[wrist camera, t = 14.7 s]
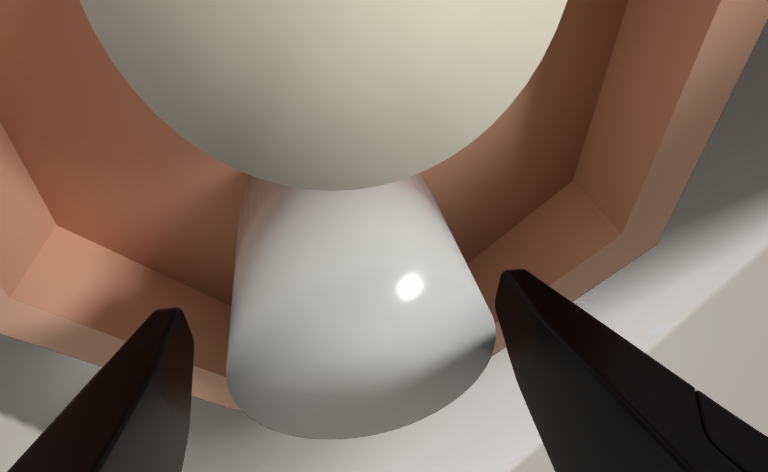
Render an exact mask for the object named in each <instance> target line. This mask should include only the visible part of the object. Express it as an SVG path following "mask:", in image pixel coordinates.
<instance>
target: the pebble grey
mask: <svg viewBox="0 0 768 472" xmlns="http://www.w3.org/2000/svg"><path fill="white" fill-rule="evenodd" d="M495 340H496V327H495V323H494V319H493V316H492V314H491V312H490V310H489V308H488V306H487V304H486V302H485V300H484V298H483V296H482V294H481V292H480V290H479V288H478V286H477V284H476V282H475V280H474V278H473V276H472V274H471V271H470V269H469V267H468V265H467V263H466V261H465V259H464V257H463V255H462V253H461V251H460V249H459V247H458V245H457V243H456V241H455V239H454V237H453V235H452V233H451V231H450V229H449V227H448V225H447V223H446V221H445V219H444V217H443V215H442V213H441V211H440V209H439V207H438V205H437V203H436V201H435V199H434V197H433V195H432V193H431V191H430V189H429V187H428V185H427V183H426V181H425V179H424V177H423V175H422V173H421V172H420V173H418V174H415V175H413V176H410V177H408V178H405V179H403V180H399V181H395V182H392V183H388V184H385V185H381V186H376V187H369V188H363V189H357V190H339V191H325V190H309V189H302V188H296V187H290V186H284V185H280V184H276V183H273V182H270V181H266V180H263V179H259V178H256V177H253V176H251V175H249V176H248V178H247V180H246V182H245V185H244V188H243V190H242V195H241V200H240V210H239V222H238V234H237V246H236V258H235V270H234V282H233V293H232V305H231V317H230V329H229V341H228V353H227V365H226V381H227V385H228V389H229V392H230V394H231V396H232V398H233V400H234V402H235V403H236V404H237V405H238V407H239V408H240V409H241V410H242V411H243V412H244V413H245V414H246V415H247V416H249V417H250V418H251V419H253V420H254V421H256V422H258V423H259V424H261V425H263V426H265V427H267V428H269V429H272V430H275V431H278V432H281V433H284V434H288V435H292V436H296V437H303V438H310V439H348V438H358V437H364V436H370V435H375V434H379V433H384V432H387V431H391V430H394V429H398V428H401V427H404V426H406V425H409V424H412V423H414V422H416V421H419V420H421V419H423V418H426V417H427V416H429V415H431V414H433V413H435V412H437V411H439V410H440V409H442V408H443V407H445V406H447V405H448V404H450V403H451V402H453V401H454V400H455V399H457V398H458V397H459V396H461V395H462V394H463V393H464V392H465V391H466V390H467V389H468V388H469V387H470V386H471V385H472V384H473V383H474V382H475V381H476V380H477V379H478V378H479V376H480V375H481V373H482V372H483V371H484V369H485V368H486V366H487V364H488V362H489V360H490V358H491V356H492V353H493V350H494V347H495Z"/></svg>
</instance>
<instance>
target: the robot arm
mask: <svg viewBox="0 0 768 472" xmlns="http://www.w3.org/2000/svg"><path fill="white" fill-rule="evenodd" d="M495 310H496V314H497V317H498V320H499V324H500V327H501V330H502V334H503V337H504V340H505V344H506V347H507V350H508V354H509V357H510V360H511V364H512V367H513V370H514V373H515V376H516V380H517V382H518V385H519V387H520V390H521V392H522V395H523V397H524V400H525V402H526V404H527V407H528V409H529V411H530V414H531V416H532V418H533V421H534V423H535V425H536V428H537V430H538V432H539V435H540V437H541V439H542V442H543V444H544V446H545V449H546V451H547V453H548V456H549V458H550V460H551V463H552V465H553V467H554V470H555V472H768V437H767V436H765V435H764V434H762V433H761V432H759V431H757V430H756V429H754V428H753V427H751V426H750V425H748V424H747V423H745V422H744V421H743V420H741V419H739V418H738V417H737V416H735V415H733V414H732V413H731V412H729V411H728V410H726V409H725V408H723V407H721V406H720V405H719V404H717V403H716V402H714V401H713V400H712V399H710V398H709V397H707V396H706V395H705V394H703V393H702V392H700V391H695V388H694V387H693V386H691V385H690V384H688V383H687V382H686V381H684V380H683V379H681V378H680V377H679V376H677V375H676V374H674V373H673V372H671V371H670V370H668V369H667V368H666V367H664V366H663V365H661V364H660V363H659V362H657V361H655V360H654V359H653V358H651V357H650V356H649V355H647V354H646V353H644V352H643V351H641V350H640V349H639V348H637V347H636V346H634V345H633V344H631V343H630V342H628V341H627V340H626V339H624V338H623V337H621V336H620V335H618V334H617V333H616V332H614V331H613V330H611V329H610V328H608V327H607V326H606V325H604V324H603V323H601V322H600V321H598V320H597V319H596V318H594V317H593V316H591V315H590V314H588V313H587V312H586V311H584V310H583V309H581V308H580V307H578V306H577V305H576V304H574V303H573V302H571V301H570V300H568V299H567V298H566V297H564V296H563V295H561V294H560V293H558V292H557V291H556V290H554V289H553V288H551V287H550V286H548V285H547V284H545V283H544V282H543V281H541V280H540V279H538V278H537V277H535V276H534V275H533V274H531V273H530V272H528V271H527V270H525V269H511V270H505V271H503V272H502V273H501V276H500V280H499V284H498V288H497V293H496V297H495ZM193 363H194V339H193V335H192V333H191V330H190V327H189V325H188V322H187V320H186V317H185V315H184V312H183V311H182V309H181V308H179V307H172V308H163V309H157V310H155V311H154V312H152V313H151V315H150V316H149V317H148V318H147V319H146V320H145V321H144V322H143V323H142V324H141V325H140V327H139V328H138V329H137V330H136V331H135V332H134V333H133V334H132V335H131V336H130V338H129V339H128V340H127V341H126V342H125V343H124V344H123V345H122V346H121V347H120V349H119V350H118V351H117V352H116V353H115V354H114V355H113V356H112V357H111V358H110V359H109V361H108V362H107V363H106V364H105V365H104V366H103V367H102V368H101V369H100V370H99V372H98V373H97V374H96V375H95V376H94V377H93V378H92V379H91V380H90V381H89V383H88V384H87V385H86V386H85V387H84V388H83V389H82V390H81V391H80V392H79V394H78V395H77V396H76V397H75V398H74V399H73V400H72V401H71V402H70V403H69V404H68V406H67V407H66V408H65V409H64V410H63V411H62V412H61V413H60V414H59V415H58V417H57V418H56V419H55V420H54V421H53V422H52V423H51V424H50V425H49V426H48V428H47V429H46V430H45V431H44V432H43V433H42V434H41V435H40V436H39V437H38V439H37V440H36V441H35V442H34V443H33V444H32V445H31V446H30V447H29V448H28V449H27V451H26V452H25V453H24V454H23V455H22V456H21V457H20V458H19V459H18V460H17V462H16V463H15V464H14V465H13V466H12V467H11V468H10V469H9V470H8V471H7V472H182V466H183V461H184V456H185V450H186V445H187V439H188V432H189V423H190V410H191V394H192V378H193Z"/></svg>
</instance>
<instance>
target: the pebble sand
mask: <svg viewBox="0 0 768 472" xmlns="http://www.w3.org/2000/svg"><path fill="white" fill-rule="evenodd" d="M80 3H81V5H82V7H83V9H84V11H85V14H86V16H87V18H88V20H89V22H90V25H91V27H92V29H93V30H94V32H95V34H96V36H97V37H98V39H99V41H100V42H101V44H102V46H103V47H104V49H105V51H106V52H107V54H108V56H109V57H110V59H111V61H112V62H113V64H114V65H115V66H116V68H117V69H118V70H119V72H120V73H121V74H122V76H123V77H124V78H125V80H126V81H127V82H128V84H129V85H130V86H131V88H132V89H133V90H134V91H135V92H136V94H137V95H138V96H139V97H140V98H141V99H142V100H143V101H144V102H145V103H146V104H147V105H148V106H149V107H150V109H151V110H152V111H153V112H154V113H155V114H156V115H157V116H158V117H159V118H161V119H162V120H163V121H164V122H165V123H166V124H167V125H169V126H170V127H171V128H172V129H173V130H174V131H175V132H177V133H178V134H179V135H180V136H181V137H183V138H184V139H186V140H187V141H189V142H190V143H191V144H193V145H194V146H196V147H197V148H199V149H200V150H201V151H203V152H204V153H206V154H208V155H210V156H211V157H213V158H215V159H217V160H219V161H220V162H222V163H224V164H226V165H228V166H230V167H232V168H234V169H236V170H239V171H241V172H244V173H246V174H249V175H251V176H253V177H256V178H259V179H263V180H266V181H270V182H273V183H276V184H280V185H284V186H290V187H296V188H302V189H309V190H325V191H339V190H357V189H363V188H369V187H376V186H381V185H385V184H388V183H392V182H395V181H399V180H403V179H405V178H408V177H410V176H413V175H415V174H418V173H420V172H423V171H425V170H428V169H429V168H431V167H433V166H435V165H437V164H439V163H441V162H443V161H444V160H446V159H448V158H450V157H451V156H453V155H454V154H456V153H457V152H459V151H460V150H461V149H463V148H464V147H466V146H467V145H469V144H470V143H471V142H472V141H474V140H475V139H476V138H477V137H478V136H480V135H481V134H482V133H483V132H484V131H485V130H487V129H488V128H489V127H490V126H491V125H492V124H493V123H494V122H495V121H496V120H497V119H498V118H499V117H500V116H501V115H502V114H503V113H504V111H505V110H506V109H507V108H508V107H509V106H510V105H511V103H512V102H513V101H514V100H515V98H516V97H517V96H518V94H519V93H520V92H521V91H522V89H523V88H524V87H525V85H526V84H527V82H528V81H529V79H530V78H531V76H532V74H533V73H534V71H535V70H536V68H537V67H538V65H539V63H540V62H541V60H542V58H543V56H544V54H545V52H546V50H547V48H548V46H549V44H550V42H551V40H552V38H553V36H554V34H555V32H556V30H557V27H558V24H559V22H560V19H561V16H562V14H563V11H564V8H565V6H566V3H567V0H80Z"/></svg>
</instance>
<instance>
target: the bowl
mask: <svg viewBox="0 0 768 472" xmlns="http://www.w3.org/2000/svg"><path fill="white" fill-rule="evenodd" d="M767 20H768V0H567V3H566V6H565V8H564V11H563V14H562V16H561V19H560V22H559V24H558V27H557V30H556V32H555V34H554V36H553V38H552V40H551V42H550V44H549V46H548V48H547V50H546V52H545V54H544V56H543V58H542V60H541V62H540V63H539V65H538V67H537V68H536V70H535V71H534V73H533V74H532V76H531V78H530V79H529V81H528V82H527V84H526V85H525V87H524V88H523V89H522V91H521V92H520V93H519V94H518V96H517V97H516V98H515V100H514V101H513V102H512V103H511V105H510V106H509V107H508V108H507V109H506V110H505V111H504V113H503V114H502V115H501V116H500V117H499V118H498V119H497V120H496V121H495V122H494V123H493V124H492V125H491V126H490V127H489V128H488V129H487V130H485V131H484V132H483V133H482V134H481V135H480V136H478V137H477V138H476V139H475V140H474V141H472V142H471V143H470V144H469V145H467V146H466V147H464V148H463V149H461V150H460V151H459V152H457V153H456V154H454V155H453V156H451V157H450V158H448V159H446V160H444V161H443V162H441V163H439V164H437V165H435V166H433V167H431V168H429V169H428V170H425V171H423V172H421V173H422V175H423V177H424V179H425V181H426V183H427V185H428V187H429V189H430V191H431V193H432V195H433V197H434V199H435V201H436V203H437V205H438V207H439V209H440V211H441V213H442V215H443V217H444V219H445V221H446V223H447V225H448V227H449V229H450V231H451V233H452V235H453V237H454V239H455V241H456V243H457V245H458V247H459V249H460V251H461V253H462V255H463V257H464V259H465V261H466V263H467V265H468V267H469V269H470V271H471V274H472V276H473V278H474V280H475V282H476V284H477V286H478V288H479V290H480V292H481V294H482V296H483V298H484V300H485V302H486V304H487V306H488V308H489V310H490V312H491V314H492V316H493V319H494V323H495V327H496V340H495V347H494V350H493V353H492V356H493V355H495V354H496V353H498V352H499V351H501V350H502V349H504V348H505V347H506V344H505V340H504V337H503V334H502V330H501V327H500V324H499V320H498V317H497V314H496V310H495V297H496V293H497V288H498V284H499V280H500V276H501V273H502V272H503V271H505V270H511V269H525V270H527V271H528V272H530V273H531V274H533V275H534V276H535V277H537V278H538V279H540V280H541V281H543V282H544V283H545V284H547V285H548V286H550V287H551V288H553V289H554V290H556V291H557V292H558V293H560V294H561V295H563V296H564V297H566V298H567V299H568V300H570V301H571V302H573V301H574V300H576V299H577V298H579V297H580V296H582V295H583V294H585V293H586V292H588V291H589V290H591V289H592V288H594V287H595V286H596V285H598V284H599V283H601V282H602V281H604V280H605V279H607V278H608V277H610V276H611V275H613V274H614V273H616V272H617V271H619V270H620V269H622V268H623V267H625V266H626V265H627V264H629V263H630V262H632V261H633V260H635V259H636V258H638V257H639V256H641V255H642V254H644V253H645V252H647V251H648V250H650V249H651V248H653V247H654V246H655V245H657V244H658V241H659V239H660V237H661V235H662V233H663V231H664V229H665V227H666V225H667V223H668V221H669V219H670V217H671V215H672V213H673V211H674V209H675V207H676V205H677V203H678V201H679V199H680V197H681V195H682V193H683V191H684V189H685V187H686V184H687V182H688V180H689V178H690V176H691V174H692V172H693V170H694V168H695V166H696V164H697V162H698V160H699V158H700V156H701V154H702V152H703V150H704V148H705V146H706V144H707V142H708V140H709V138H710V136H711V134H712V132H713V130H714V128H715V125H716V123H717V121H718V119H719V117H720V115H721V113H722V111H723V109H724V107H725V105H726V103H727V101H728V99H729V97H730V95H731V93H732V91H733V89H734V87H735V85H736V83H737V81H738V79H739V77H740V75H741V73H742V71H743V68H744V66H745V64H746V62H747V60H748V58H749V56H750V54H751V52H752V50H753V48H754V46H755V44H756V42H757V40H758V38H759V36H760V34H761V32H762V30H763V28H764V26H765V24H766V22H767ZM248 176H249V174H246V173H244V172H241V171H239V170H236V169H234V168H232V167H230V166H228V165H226V164H224V163H222V162H220V161H219V160H217V159H215V158H213V157H211V156H210V155H208V154H206V153H204V152H203V151H201V150H200V149H199V148H197V147H196V146H194V145H193V144H191V143H190V142H189V141H187V140H186V139H184V138H183V137H181V136H180V135H179V134H178V133H177V132H175V131H174V130H173V129H172V128H171V127H170V126H169V125H167V124H166V123H165V122H164V121H163V120H162V119H161V118H159V117H158V116H157V115H156V114H155V113H154V112H153V111H152V110H151V109H150V107H149V106H148V105H147V104H146V103H145V102H144V101H143V100H142V99H141V98H140V97H139V96H138V95H137V94H136V92H135V91H134V90H133V89H132V88H131V86H130V85H129V84H128V82H127V81H126V80H125V78H124V77H123V76H122V74H121V73H120V72H119V70H118V69H117V68H116V66H115V65H114V64H113V62H112V61H111V59H110V57H109V56H108V54H107V52H106V51H105V49H104V47H103V46H102V44H101V42H100V41H99V39H98V37H97V36H96V34H95V32H94V30H93V29H92V27H91V25H90V22H89V20H88V18H87V16H86V14H85V11H84V9H83V7H82V5H81V3H80V0H0V334H3V335H6V336H9V337H12V338H16V339H19V340H22V341H25V342H28V343H31V344H34V345H37V346H40V347H43V348H46V349H49V350H52V351H55V352H58V353H62V354H65V355H68V356H71V357H74V358H77V359H80V360H83V361H86V362H89V363H92V364H95V365H98V366H101V367H103V366H104V365H105V364H106V363H107V362H108V361H109V359H110V358H111V357H112V356H113V355H114V354H115V353H116V352H117V351H118V350H119V349H120V347H121V346H122V345H123V344H124V343H125V342H126V341H127V340H128V339H129V338H130V336H131V335H132V334H133V333H134V332H135V331H136V330H137V329H138V328H139V327H140V325H141V324H142V323H143V322H144V321H145V320H146V319H147V318H148V317H149V316H150V315H151V313H152V312H154V311H155V310H157V309H163V308H172V307H179V308H181V309H182V311H183V312H184V315H185V317H186V320H187V322H188V325H189V327H190V330H191V333H192V335H193V339H194V363H193V378H192V394H191V396H193V397H197V398H200V399H203V400H206V401H209V402H212V403H215V404H218V405H221V406H224V407H227V408H230V409H233V410H241V409H240V408H239V407H238V405H237V404H236V403H235V402H234V400H233V398H232V396H231V394H230V392H229V389H228V385H227V381H226V365H227V353H228V341H229V329H230V317H231V305H232V293H233V282H234V270H235V258H236V246H237V234H238V222H239V210H240V200H241V195H242V190H243V188H244V185H245V182H246V180H247V178H248ZM492 356H491V357H492Z"/></svg>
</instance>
